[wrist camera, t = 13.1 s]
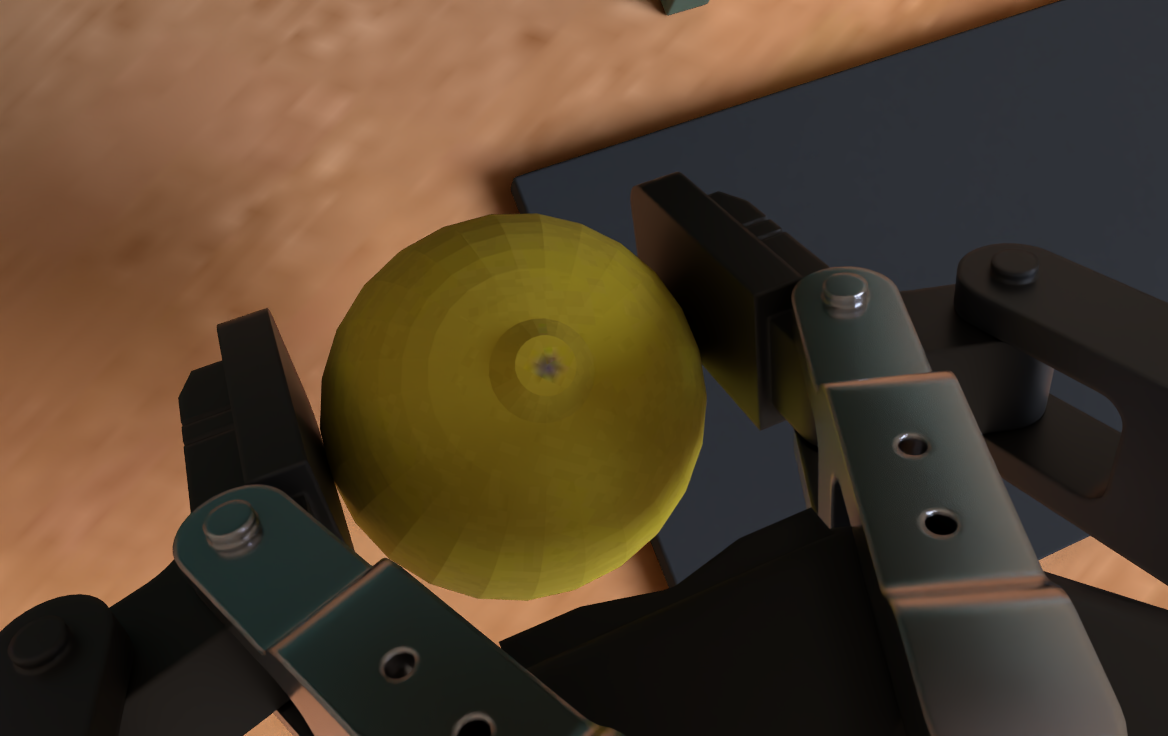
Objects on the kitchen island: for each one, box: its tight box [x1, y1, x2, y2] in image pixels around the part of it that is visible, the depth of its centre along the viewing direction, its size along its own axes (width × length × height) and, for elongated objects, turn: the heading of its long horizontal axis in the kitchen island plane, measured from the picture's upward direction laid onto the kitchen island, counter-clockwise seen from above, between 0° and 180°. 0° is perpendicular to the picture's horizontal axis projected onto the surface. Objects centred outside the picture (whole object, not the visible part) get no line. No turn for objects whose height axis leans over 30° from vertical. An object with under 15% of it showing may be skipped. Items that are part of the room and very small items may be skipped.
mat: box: [511, 0, 1168, 588], centre depth 25 cm, size 20×13×1 cm, turn 112°
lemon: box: [320, 213, 707, 601], centre depth 14 cm, size 6×6×8 cm
